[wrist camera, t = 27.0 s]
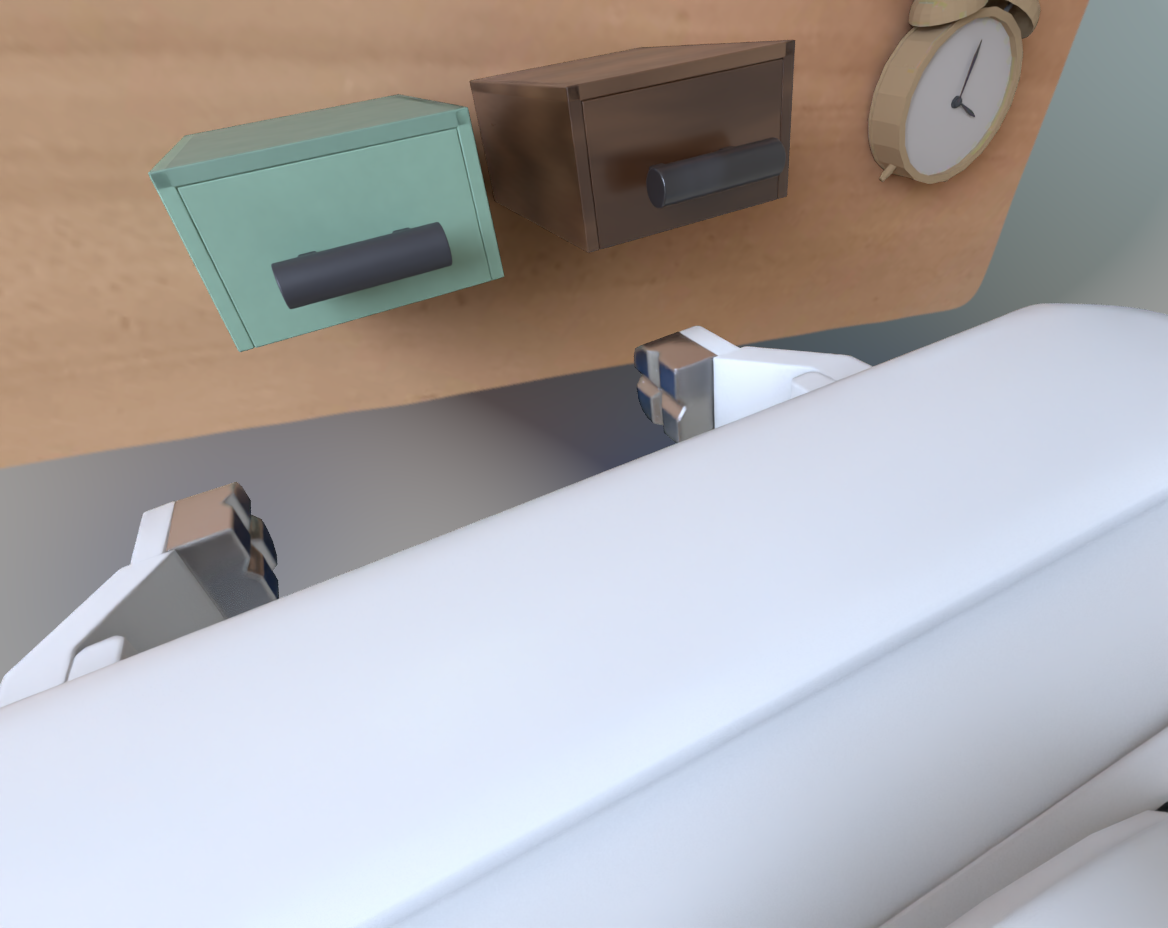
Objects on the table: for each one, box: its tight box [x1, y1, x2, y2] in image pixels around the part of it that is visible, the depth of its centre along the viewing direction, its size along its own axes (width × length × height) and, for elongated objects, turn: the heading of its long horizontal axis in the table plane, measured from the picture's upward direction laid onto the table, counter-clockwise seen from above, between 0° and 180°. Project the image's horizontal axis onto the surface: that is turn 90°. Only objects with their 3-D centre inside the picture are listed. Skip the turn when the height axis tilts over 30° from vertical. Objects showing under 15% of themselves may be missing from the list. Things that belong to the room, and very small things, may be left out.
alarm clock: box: [868, 0, 1040, 184], centre depth 46 cm, size 11×5×15 cm
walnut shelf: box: [470, 40, 795, 253], centre depth 32 cm, size 17×11×6 cm
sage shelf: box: [148, 94, 504, 352], centre depth 28 cm, size 17×11×6 cm
